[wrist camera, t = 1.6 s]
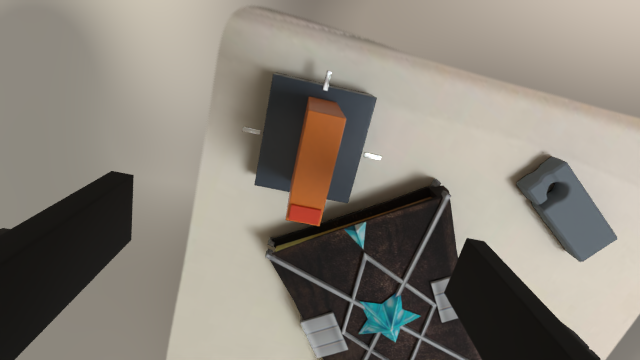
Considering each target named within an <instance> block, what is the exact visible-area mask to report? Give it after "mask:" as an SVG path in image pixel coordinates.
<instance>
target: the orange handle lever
mask: <svg viewBox="0 0 640 360" xmlns="http://www.w3.org/2000/svg"><path fill="white" fill-rule="evenodd" d="M345 123H346V117H345V116H344V114H343V112H342V111H341V109H340V107H339V106H338V104H337V103H336V102H332V101H327V100H323V99H318V98H314V97H309V98H308V103H307V108H306V112H305V117H304V122H303V127H302V132H301V137H300V141H299V146H298V151H297V156H296V161H295V166H294V170H293V175H292V180H291V186H290V193H289V200H288V207H287V214H286V220H289V221H294V222H300V223H305V224H310V225H316V226H320V223H321V219H322V215H323V211H324V207H325V203H326V199H327V195H328V191H329V187H330V183H331V179H332V175H333V171H334V167H335V163H336V159H337V155H338V151H339V147H340V143H341V139H342V135H343V131H344V127H345Z"/></svg>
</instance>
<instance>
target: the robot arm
mask: <svg viewBox="0 0 640 360" xmlns="http://www.w3.org/2000/svg"><path fill="white" fill-rule="evenodd" d="M132 199H133V175H130V174H125V173H119V172H114V171H111V172H109V173H107V174H106V175H104V176H102V177H101V178H99V179H97V180H95V181H94V182H92V183H90V184H88V185H87V186H85V187H83V188H82V189H80V190H78V191H76V192H75V193H73V194H71V195H69V196H68V197H66V198H64V199H63V200H61V201H59V202H57V203H55V204H54V205H52V206H50V207H48V208H47V209H45V210H43V211H42V212H40V213H38V214H36V215H35V216H33V217H31V218H30V219H28V220H26V221H24V222H22V223H21V224H19V225H17V226H16V227H14V228H12V229H5V228H2V229H0V360H15V359H16V358H17V357H18V355H20V353H21V352H22V351H23V350H24V349H25V348H26V347H27V346H28V345H29V344H30V343H31V342H32V341H33V340H34V339H35V338H36V337H37V336H38V335H39V334H40V333H41V332H42V331H43V330H44V329H45V328H46V327H47V326H48V325H49V324H50V323H51V322H52V321H53V319H55V318H56V317H57V315H58V314H59V313H60V312H61V311H62V310H63V309H64V308H65V307H66V306H67V305H68V304H69V303H70V302H71V301H72V300H73V299H74V298H75V297H76V296H77V295H78V294H79V293H80V292H81V291H82V290H83V289H84V288H85V287H86V286H87V285H88V284H89V283H90V281H92V280H93V279H94V277H95V276H96V275H97V274H98V273H99V272H100V271H101V270H102V269H103V268H104V267H105V266H106V265H107V264H108V263H109V262H110V261H111V260H112V259H113V258H114V257H115V256H116V255H117V254H118V253H119V252H120V251H121V250H122V249H123V247H125V246H126V244H128V243H129V241H131V229H132ZM444 294H445V296H446V297H447V299H448V301H449V303H450V304H451V306H452V308H453V310H454V311H455V313H456V315H457V317H458V318H459V320H460V322H461V324H462V325H463V327H464V329H465V331H466V332H467V334H468V336H469V338H470V339H471V341H472V343H473V345H474V346H475V348H476V350H477V352H478V353H479V355H480V357H481V359H482V360H600V358H599V357H598V356H597V355H596V354H595V353H594V352H593V351H592V350H590V349H589V346H588V345H587V344H586V343H585V342H584V341H583V340H582V339H581V338H580V337H579V336H578V335H577V334H576V333H575V332H574V331H572V330H571V329H570V328H568V327H567V326H566V325H564V324H563V323H562V322H561V321H560V320H559V319H558V318H557V317H556V316H555V315H554V314H553V313H552V312H551V311H550V310H549V309H548V308H547V307H546V306H545V305H544V304H543V303H542V302H541V300H540V299H539V298H538V297H537V296H536V295H535V294H534V293H533V292H532V291H531V290H530V289H529V288H528V287H527V286H526V285H525V284H524V283H523V282H522V281H521V279H520V278H519V277H518V276H517V275H516V274H515V273H514V272H513V271H512V270H511V269H510V268H509V267H508V266H507V265H506V264H505V263H504V262H503V261H502V260H501V258H500V257H499V256H498V255H497V254H496V253H495V252H494V251H493V250H492V249H491V248H490V247H489V246H488V245H487V244H486V243H485V242H484V241H479V240H474V239H469V238H467V239H466V241H465V244H464V246H463V249H462V251H461V253H460V256H459V258H458V260H457V263H456V265H455V268H454V270H453V272H452V275H451V277H450V279H449V282H448V284H447V286H446V289H445V291H444Z"/></svg>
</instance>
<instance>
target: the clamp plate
mask: <svg viewBox="0 0 640 360" xmlns="http://www.w3.org/2000/svg"><path fill="white" fill-rule="evenodd" d="M331 73H332V72H331V71H327V73H326V77H325V82H324V83H320V82H315V81H311V80H307V79H302V78H298V77H294V76H289V75H285V74H281V73H275V74H273V78H272V84H271V90H270V96H269V102H268V108H267V114H266V120H265V126H264V132H263V138H262V144H261V150H260V156H259V162H258V167H257V173H256V179H255V185H257V186H262V187H267V188H272V189H277V190H282V191H288V192H290V186H291V180H292V175H293V170H294V166H295V161H296V156H297V151H298V146H299V141H300V137H301V132H302V127H303V122H304V117H305V112H306V108H307V103H308V98H309V97H314V98H318V99H323V100H327V101H332V102H336V103H337V104H338V106H339V107H340V109H341V111H342V112H343V114H344V116H345V117H346V123H345V127H344V131H343V135H342V139H341V143H340V147H339V151H338V155H337V159H336V163H335V167H334V171H333V175H332V179H331V183H330V187H329V191H328V195H327V199H329V200H334V201H339V202H344V203H348V201H349V197H350V194H351V190H352V187H353V183H354V179H355V176H356V172H357V168H358V165H359V161H360V157H361V154H362V150H363V147H364V143H365V139H366V136H367V132H368V128H369V125H370V121H371V118H372V114H373V110H374V107H375V103H376V99H377V98H376V97H374V96H373V95H371V94H367V93H363V92H358V91H354V90H350V89H345V88H341V87H337V86H332V85H329V82H330V78H331ZM242 131H244V132H249V133H254V134H258V135H260V133H261V130H258V129H253V128H249V127H244V126H243V129H242ZM364 157H368V158H372V159H377V160H381V157H382V156H381V155H376V154H371V153H367V152H365V153H364Z"/></svg>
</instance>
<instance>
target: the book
mask: <svg viewBox="0 0 640 360" xmlns="http://www.w3.org/2000/svg"><path fill="white" fill-rule="evenodd" d="M440 184H441V183H440V182H439V181H438V180H437V179H433V182H432V184H431V186H428V187H425V188H422V189H420V190H417V191H414V192H411V193H409V194H406V195H403V196H400V197H398V198H395V199H392V200H389V201H387V202H384V203H381V204H378V205H375V206H372V207H369V208H366V209H363V210H360V211H357V212H354V213H351V214H348V215H345V216H342V217H339V218H336V219H333V220H330V221H327V222H324V223H321V224H320V226H316V225H315V226H312V227H309V228H305V229H302V230H299V231H296V232H293V233H290V234H286V235H283V236H280V237H277V238H272V237H270V239H269V241H268V245H270V246H272V247H273V246H274V247H275V249H276V250H275V252H273V251H272V250H270V249H268V250H267V251H266V256H265V257H266V258H268V259H270V261H271V263H272V264H273V266H274V268H275V269H276V271H277V273H278V275H279V276H280V278H281V280H282V281H283V283H284V285H285V287H286V288H287V290H288V292H289V293H290V295H291V297H292V298H293V300H294V302H295V304H296V306H297V308H298V310H299V312H300V314H301V320H300V323H301V325H302V328H303V330H304V332H305V334H306V336H307V338H308V340H309V342H310V345H311V347H312V349H313V351H314V353H315V355H316V357H317V358H321V357H322V358H323V360H482V359H481V357H480V355H479V353H478V352H477V350H476V348H475V346H474V345H473V343H472V341H471V339H470V338H469V336H468V334H467V332H466V331H465V329H464V327H463V325H462V324H461V322H460V320H459V318H458V317H457V315H456V313H455V311H454V310H453V308H452V306H451V304H450V303H449V301H448V299H447V297H446V296H445V294H444V291H445V289H446V286H447V284H448V282H449V279H450V277H451V275H452V272H453V270H454V268H455V265H456V263H457V260H458V255H457V250H456V242H455V234H454V227H453V219H452V211H451V203H450V197H451V195H450V194H449V191H448V190H447V189H446V188H445V187H444V186H440Z"/></svg>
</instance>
